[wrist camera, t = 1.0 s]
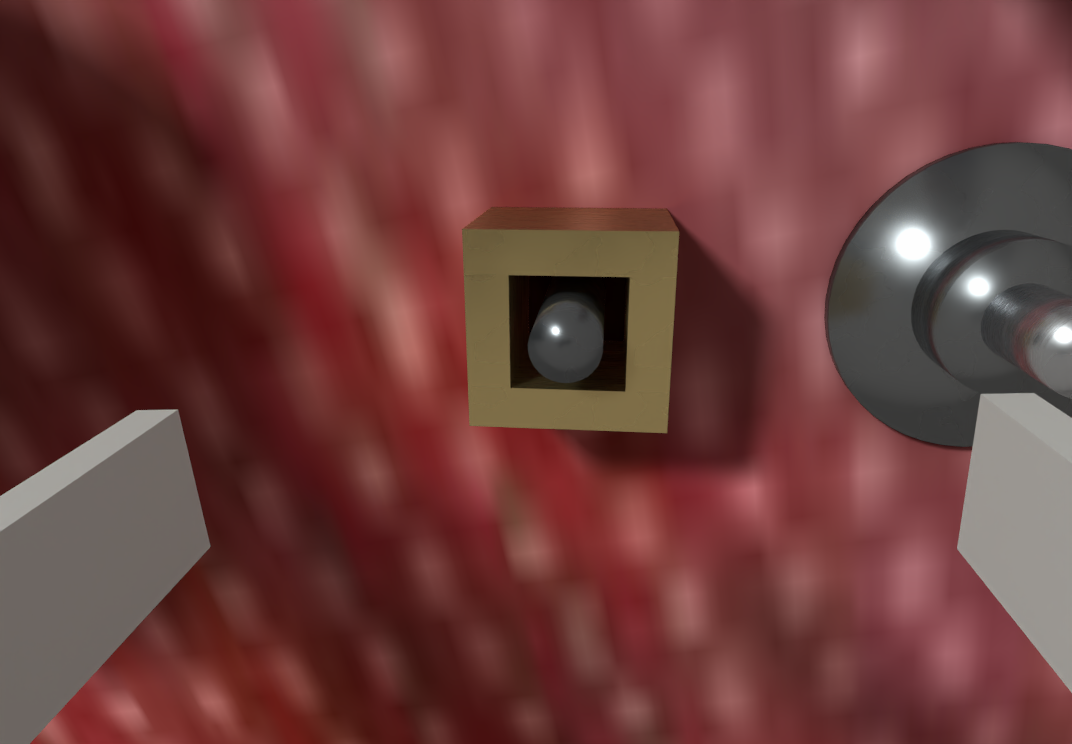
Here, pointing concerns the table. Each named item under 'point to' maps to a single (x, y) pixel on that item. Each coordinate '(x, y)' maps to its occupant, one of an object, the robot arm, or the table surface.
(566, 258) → the collar
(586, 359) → the stand rod
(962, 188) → the hub
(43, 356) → the table surface
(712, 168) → the table surface
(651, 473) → the table surface
